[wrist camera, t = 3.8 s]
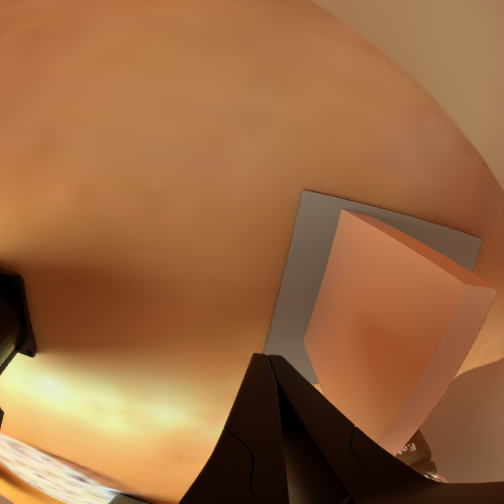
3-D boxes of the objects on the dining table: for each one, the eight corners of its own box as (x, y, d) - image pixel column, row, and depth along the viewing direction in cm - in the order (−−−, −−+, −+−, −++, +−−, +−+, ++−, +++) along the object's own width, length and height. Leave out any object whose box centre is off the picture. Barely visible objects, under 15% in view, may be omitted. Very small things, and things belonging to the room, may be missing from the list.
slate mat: (420, 374, 20) (422, 377, 20) (256, 377, 18) (256, 381, 18) (479, 237, 16) (482, 239, 16) (302, 189, 14) (304, 190, 14)
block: (333, 343, 17) (393, 461, 9) (302, 341, 17) (352, 470, 8) (374, 216, 15) (501, 289, 6) (341, 209, 14) (465, 284, 6)
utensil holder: (421, 420, 23) (470, 502, 12) (377, 455, 24) (412, 537, 13) (396, 409, 21) (452, 509, 10) (346, 448, 23) (383, 547, 11)
